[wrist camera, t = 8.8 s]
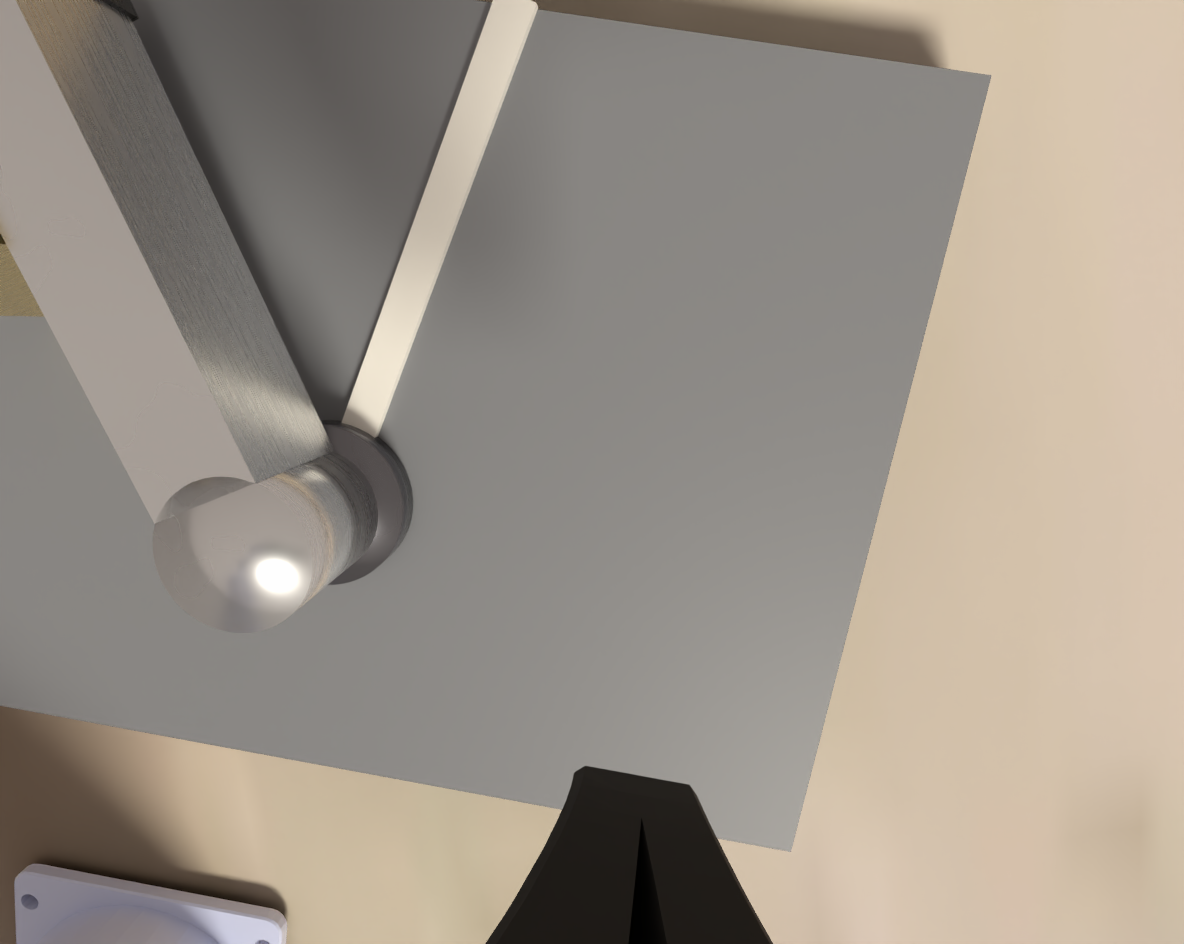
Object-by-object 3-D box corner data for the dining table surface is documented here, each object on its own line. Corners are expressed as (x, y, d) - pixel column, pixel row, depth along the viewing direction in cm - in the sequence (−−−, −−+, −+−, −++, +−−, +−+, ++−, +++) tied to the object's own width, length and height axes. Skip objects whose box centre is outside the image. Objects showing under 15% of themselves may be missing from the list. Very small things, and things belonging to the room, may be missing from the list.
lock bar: (400, 546, 15) (336, 605, 12) (288, 588, 15) (196, 656, 12) (126, -44, 13) (-43, -168, 9) (4, 22, 13) (-198, -75, 10)
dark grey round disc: (405, 584, 16) (393, 597, 15) (256, 558, 16) (236, 570, 15) (420, 434, 15) (409, 439, 14) (264, 407, 15) (244, 412, 14)
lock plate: (778, 809, 18) (792, 857, 16) (-10, 665, 19) (-72, 698, 17) (958, 88, 14) (1000, 58, 13) (-38, -58, 15) (-122, -105, 13)
